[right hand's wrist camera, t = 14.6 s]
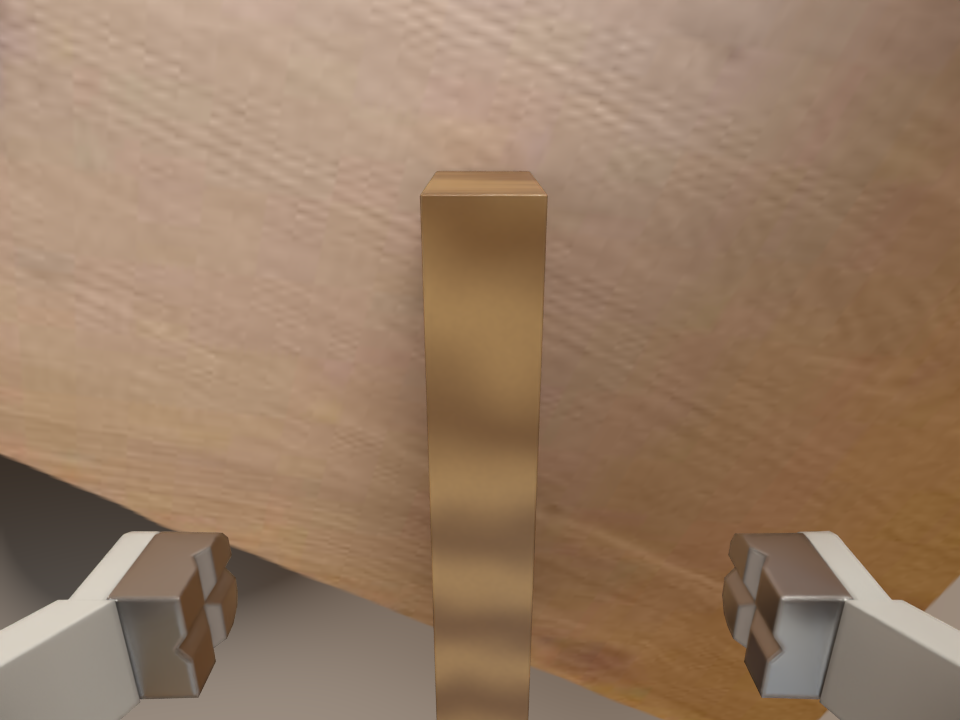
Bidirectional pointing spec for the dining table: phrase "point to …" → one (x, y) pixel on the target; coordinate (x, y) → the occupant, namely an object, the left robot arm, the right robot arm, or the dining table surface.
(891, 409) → the dining table surface
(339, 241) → the dining table surface
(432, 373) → the bar
